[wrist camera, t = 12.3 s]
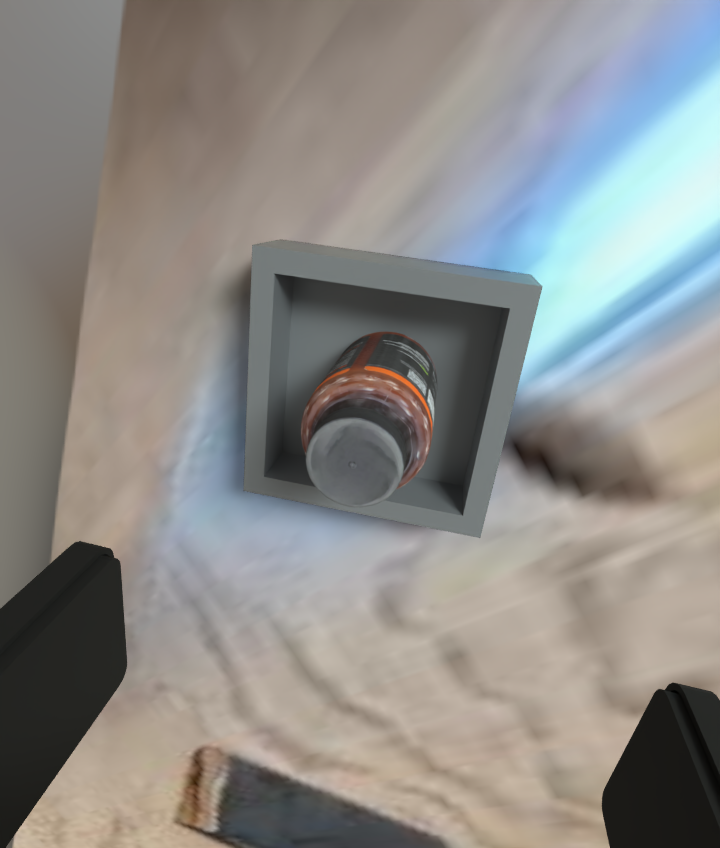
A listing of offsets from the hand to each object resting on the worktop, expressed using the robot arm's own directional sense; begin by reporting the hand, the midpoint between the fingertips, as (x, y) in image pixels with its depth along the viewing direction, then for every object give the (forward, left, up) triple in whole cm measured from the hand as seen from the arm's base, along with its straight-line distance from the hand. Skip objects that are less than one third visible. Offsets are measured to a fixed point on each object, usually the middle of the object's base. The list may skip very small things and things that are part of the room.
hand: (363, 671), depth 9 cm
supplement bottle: (+2, -2, -23) cm, 23 cm away
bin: (+2, -3, -24) cm, 24 cm away
